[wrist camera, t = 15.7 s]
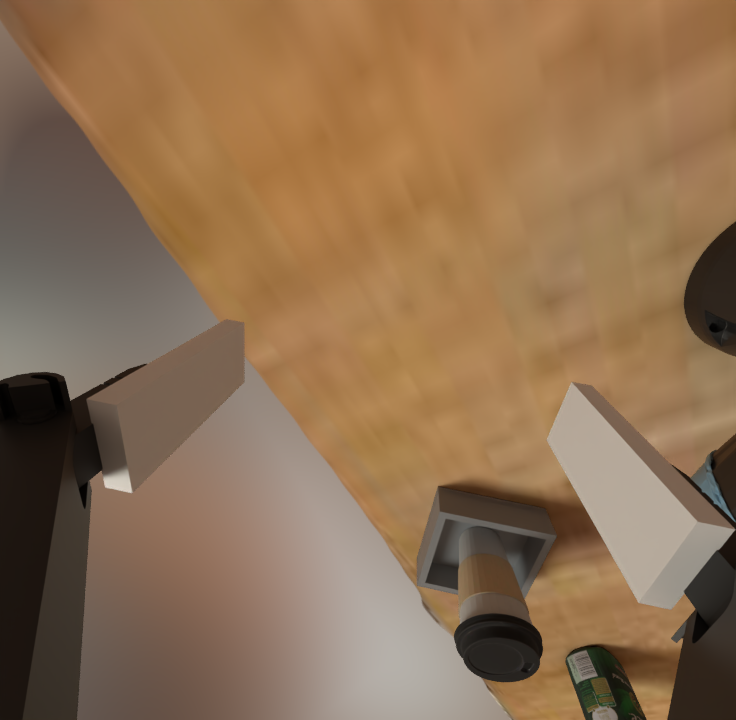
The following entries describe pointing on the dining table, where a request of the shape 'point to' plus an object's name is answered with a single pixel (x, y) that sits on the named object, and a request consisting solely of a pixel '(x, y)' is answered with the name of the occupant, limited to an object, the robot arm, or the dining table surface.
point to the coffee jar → (602, 686)
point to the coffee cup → (493, 612)
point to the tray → (466, 510)
